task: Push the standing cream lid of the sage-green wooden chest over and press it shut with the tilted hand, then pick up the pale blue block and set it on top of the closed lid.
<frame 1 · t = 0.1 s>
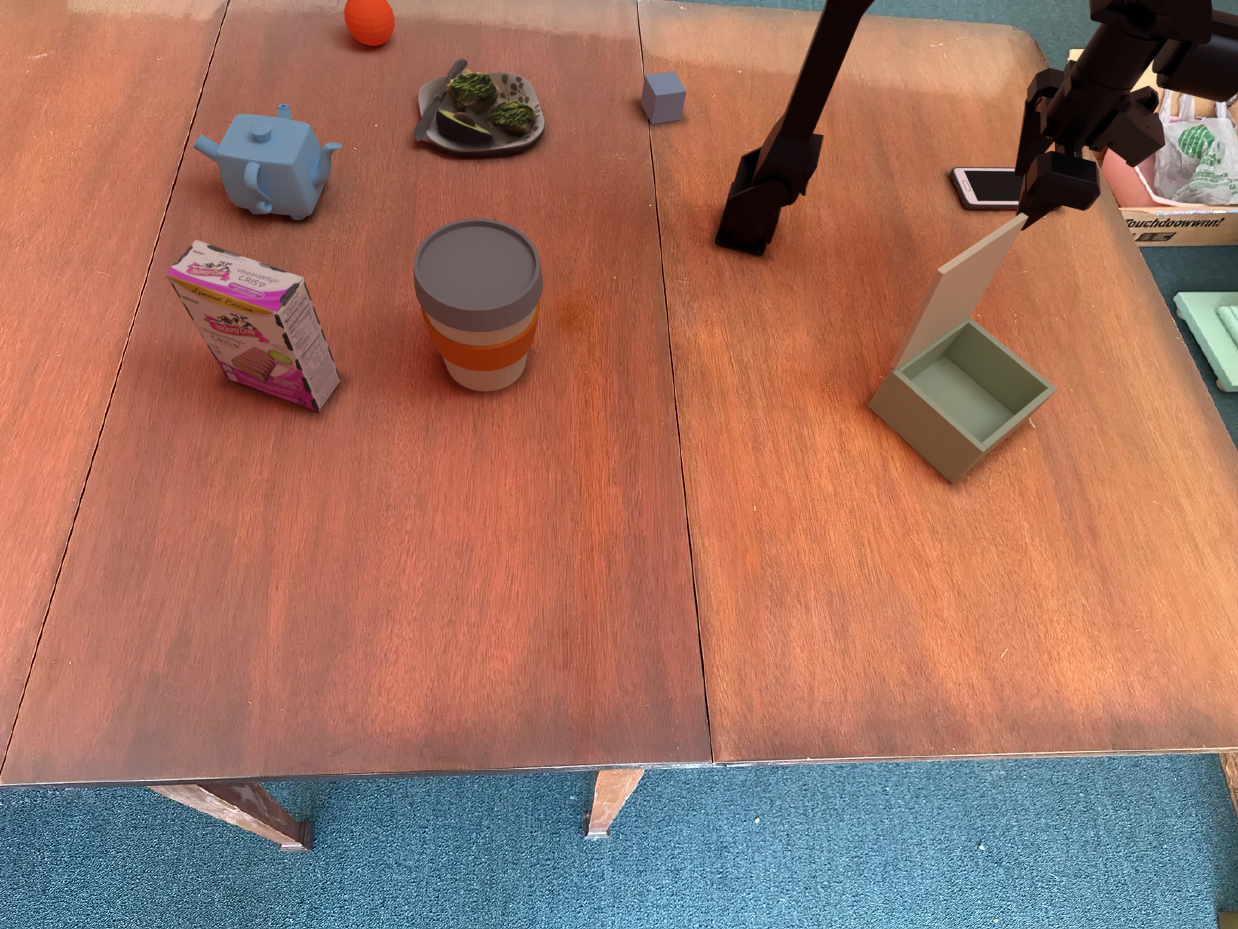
hand: (1018, 201, 87), 15 cm above the table, tool pointing down, fingers open, 9 cm apart
reusable coffee cup: (486, 360, 87), on the table
chest: (946, 414, 89), on the table
cell phone: (1003, 192, 110), on the table
lid: (956, 293, 80), point 14 cm above the table, hinge at 95.0°
candy bar box: (285, 382, 84), on the table
clementine: (370, 42, 114), on the table
avocado toast plate: (479, 123, 107), on the table
teapot: (288, 194, 97), on the table
block: (660, 112, 112), on the table
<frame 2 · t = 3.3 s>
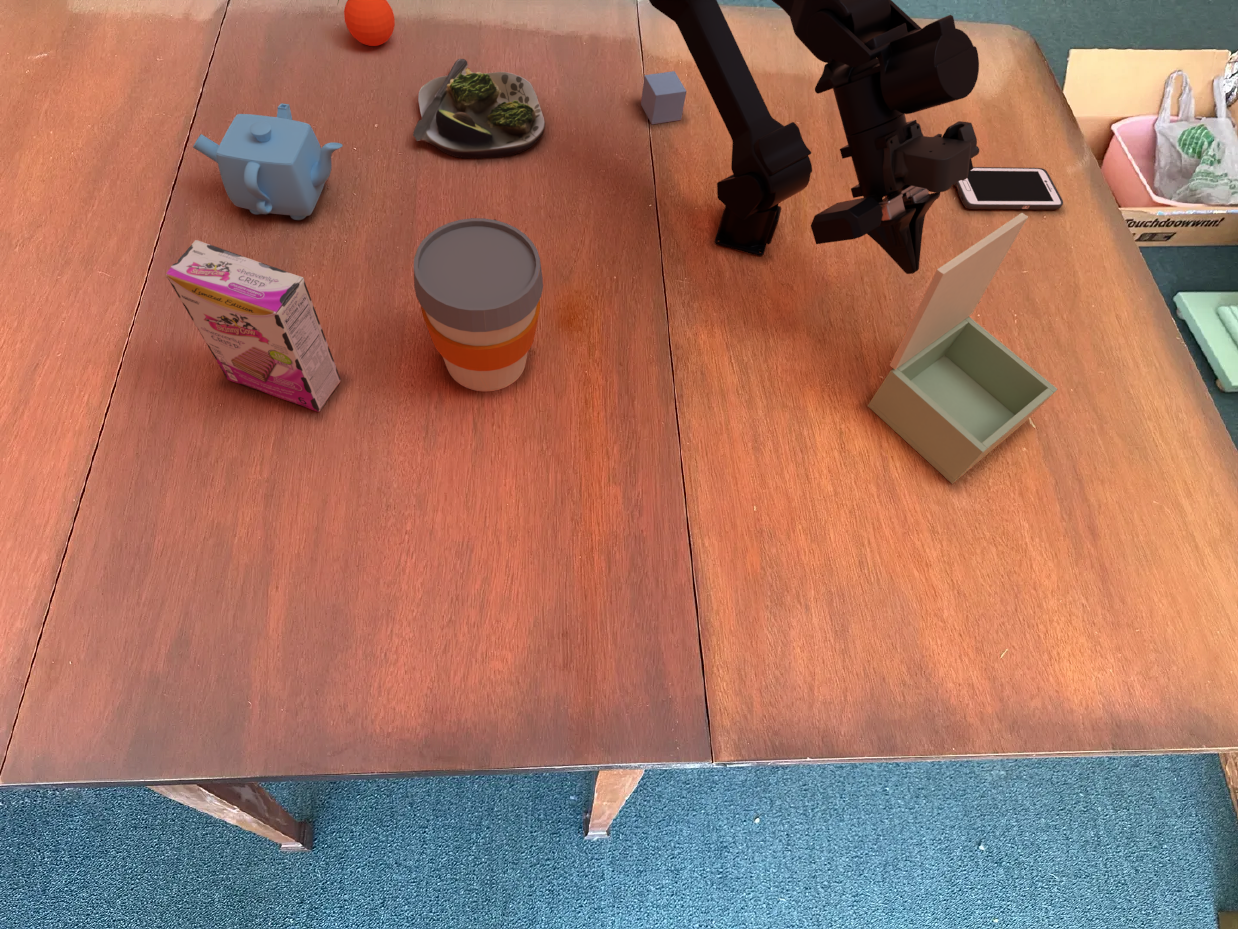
hand: (912, 272, 83), 13 cm above the table, tool tilted 45°, fingers closed
nothing on the table moved.
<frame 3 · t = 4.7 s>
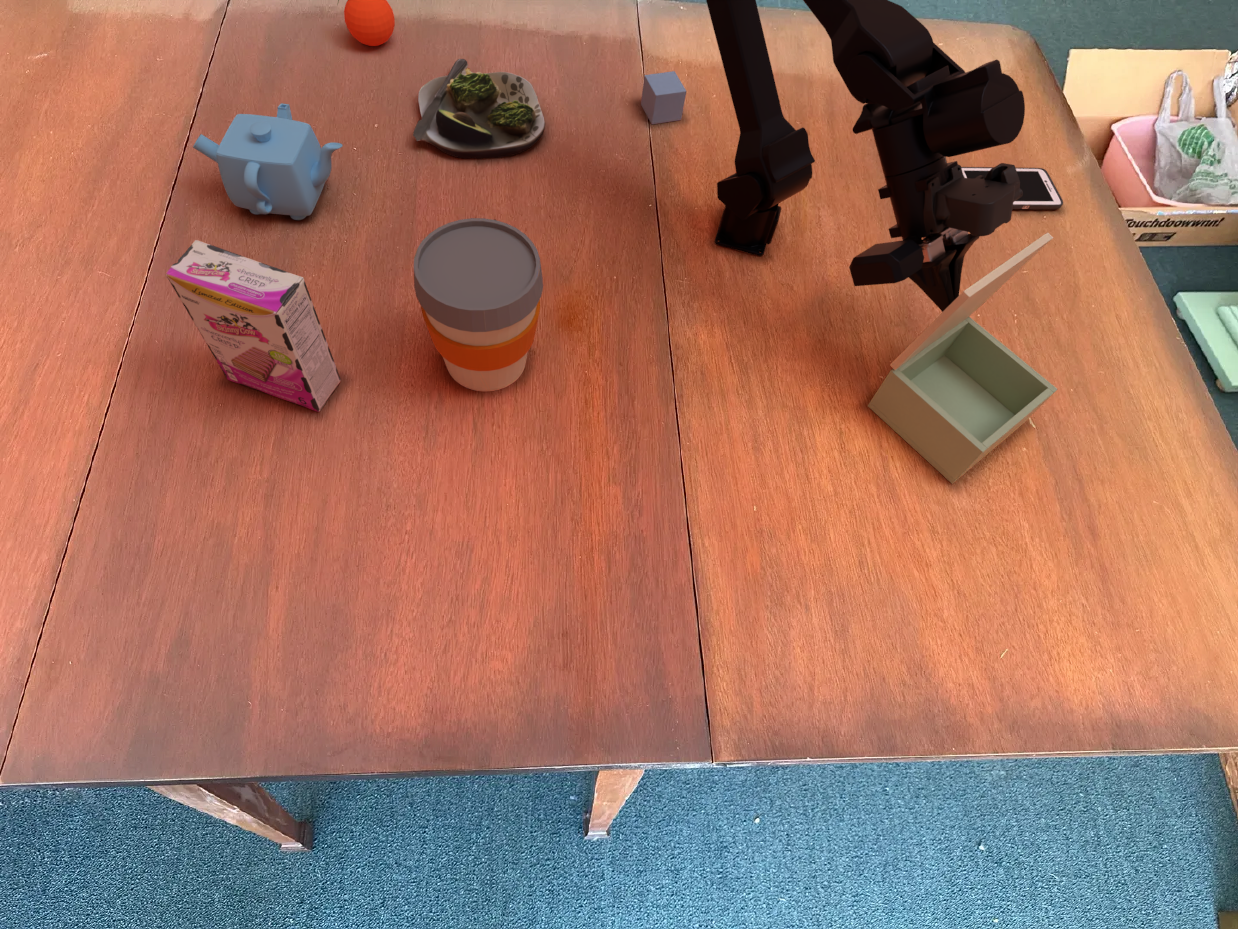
hand: (950, 312, 81), 12 cm above the table, tool tilted 45°, fingers closed, pressing on lid
lid: (968, 304, 79), point 14 cm above the table, hinge at 81.3°, touching gripper
everything else where it was.
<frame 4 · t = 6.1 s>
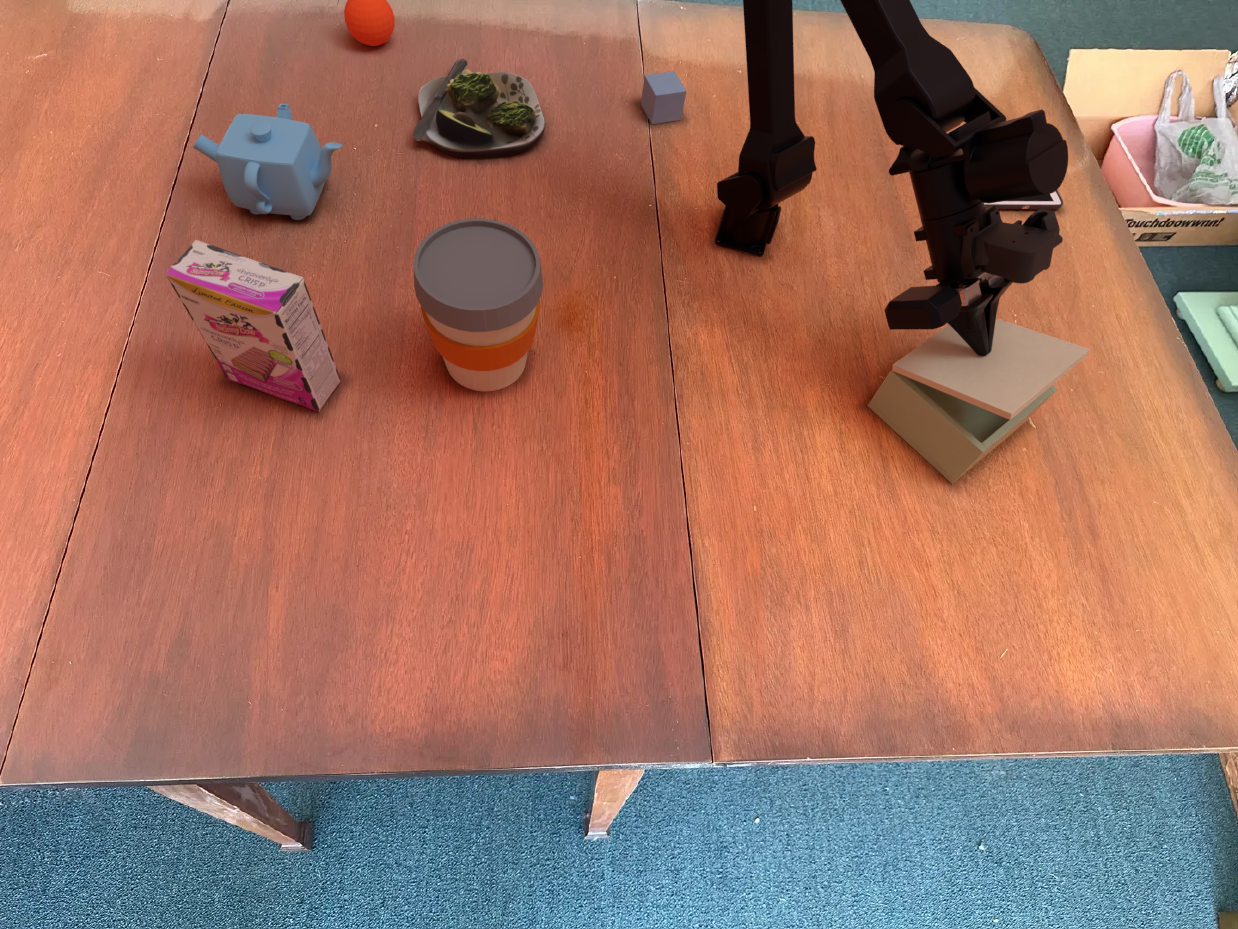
hand: (984, 354, 81), 10 cm above the table, tool tilted 45°, fingers closed
lid: (988, 360, 81), point 10 cm above the table, hinge at 24.4°
everything else where it was.
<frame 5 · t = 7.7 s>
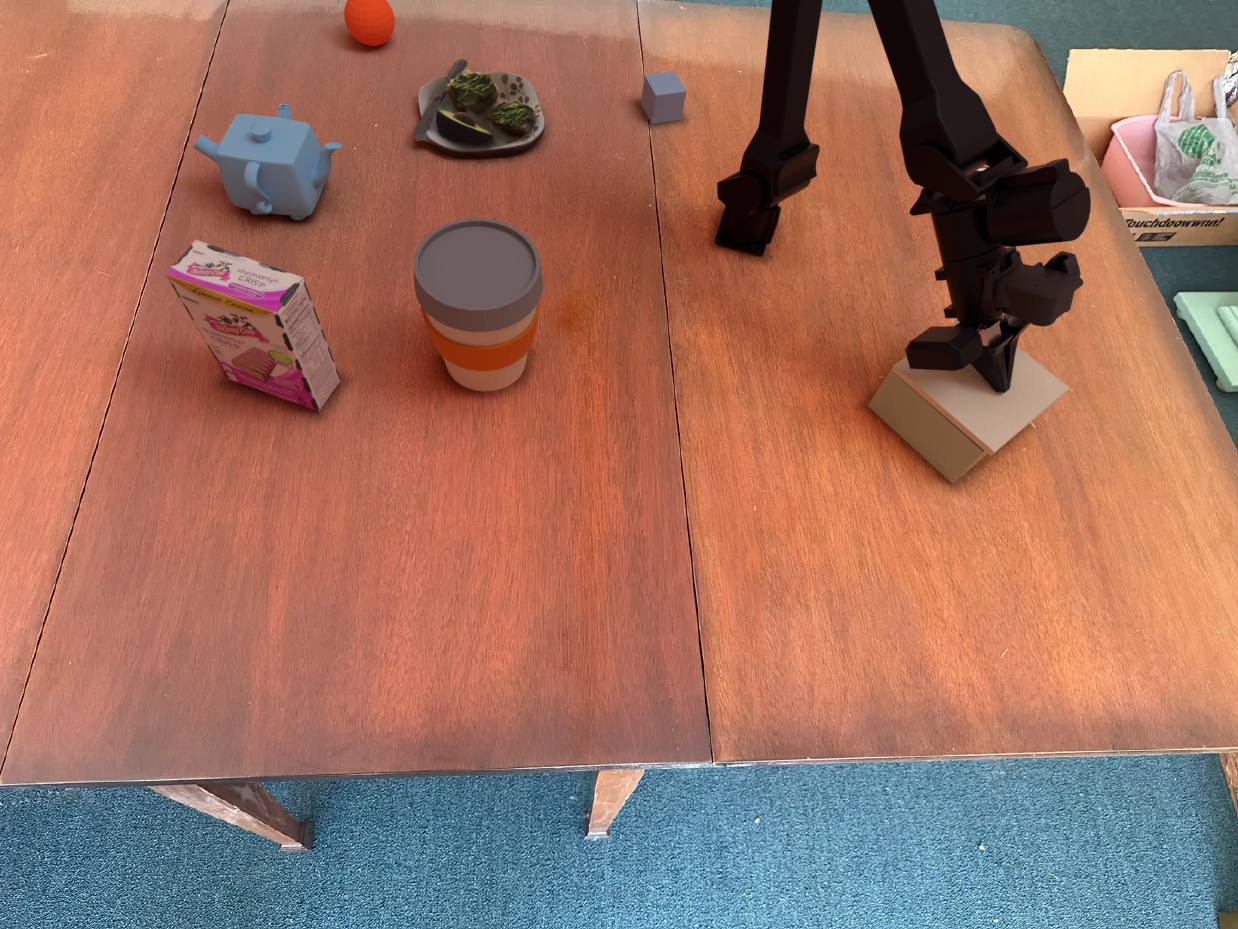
hand: (1003, 391, 81), 8 cm above the table, tool tilted 45°, fingers closed, pressing on lid
lid: (980, 378, 83), point 7 cm above the table, hinge at 1.1°, touching gripper
everything else where it was.
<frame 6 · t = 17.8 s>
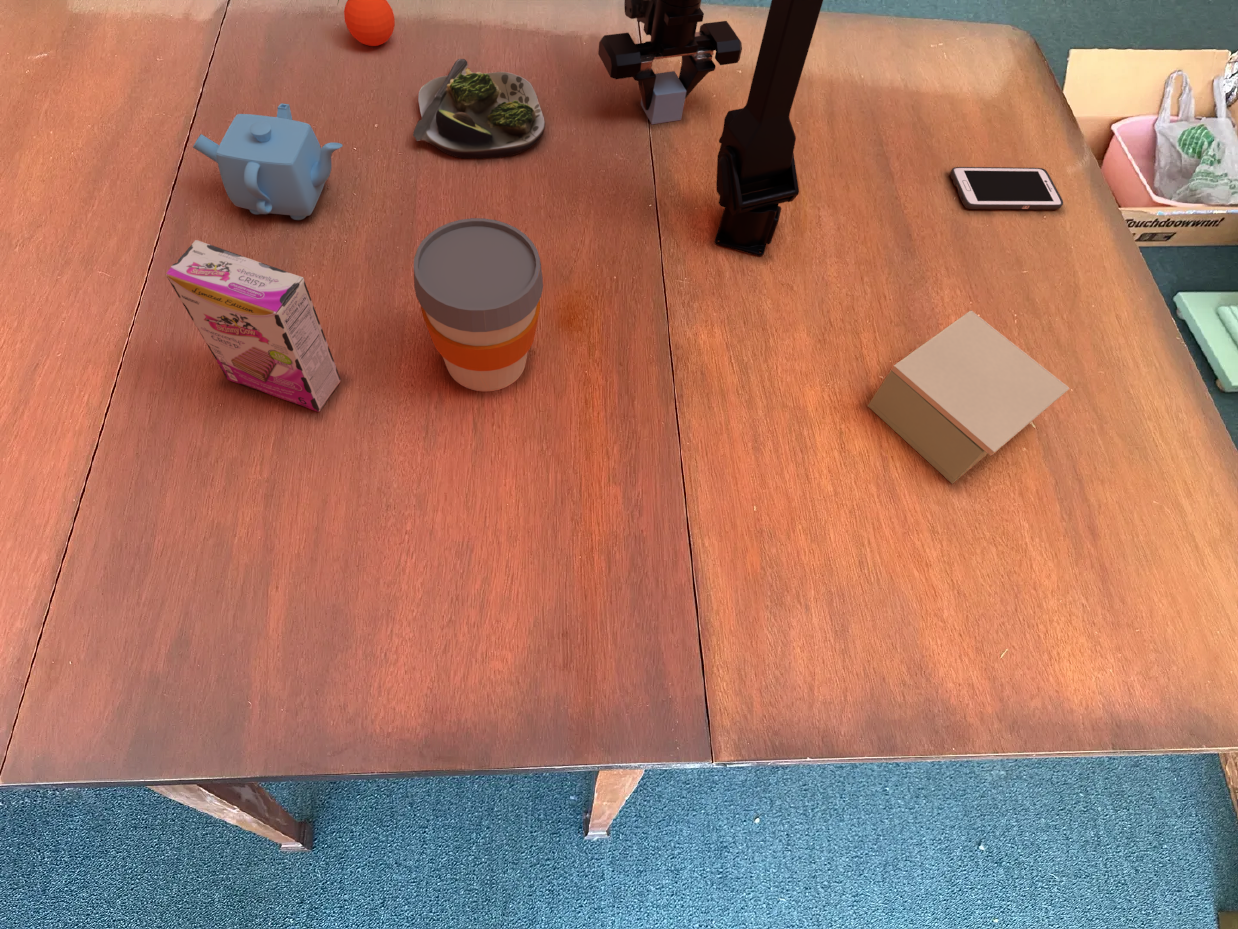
hand: (662, 105, 111), 1 cm above the table, tool pointing down, fingers closed on block, 4 cm apart
lid: (980, 378, 83), point 7 cm above the table, hinge at 1.0°
block: (660, 112, 112), on the table, touching gripper
everything else where it was.
when the fingers open (9 cm above the table, at t = 24.6 s): block stays where it is, resting on lid.
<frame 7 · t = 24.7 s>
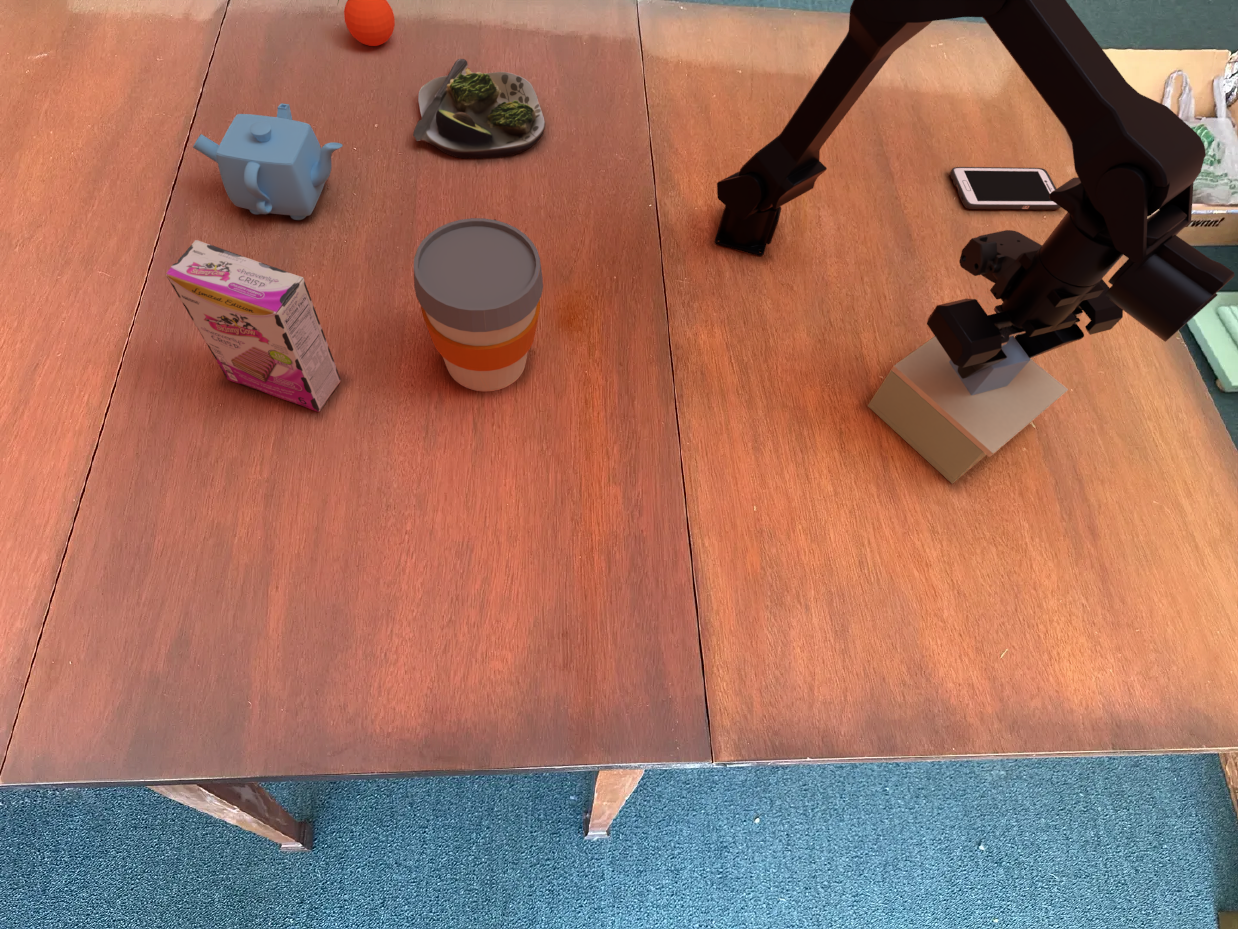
hand: (982, 369, 82), 9 cm above the table, tool pointing down, fingers open, 5 cm apart
lid: (979, 379, 83), point 7 cm above the table, hinge at 0.0°, touching block
block: (977, 373, 83), point 8 cm above the table, touching lid
everything else where it was.
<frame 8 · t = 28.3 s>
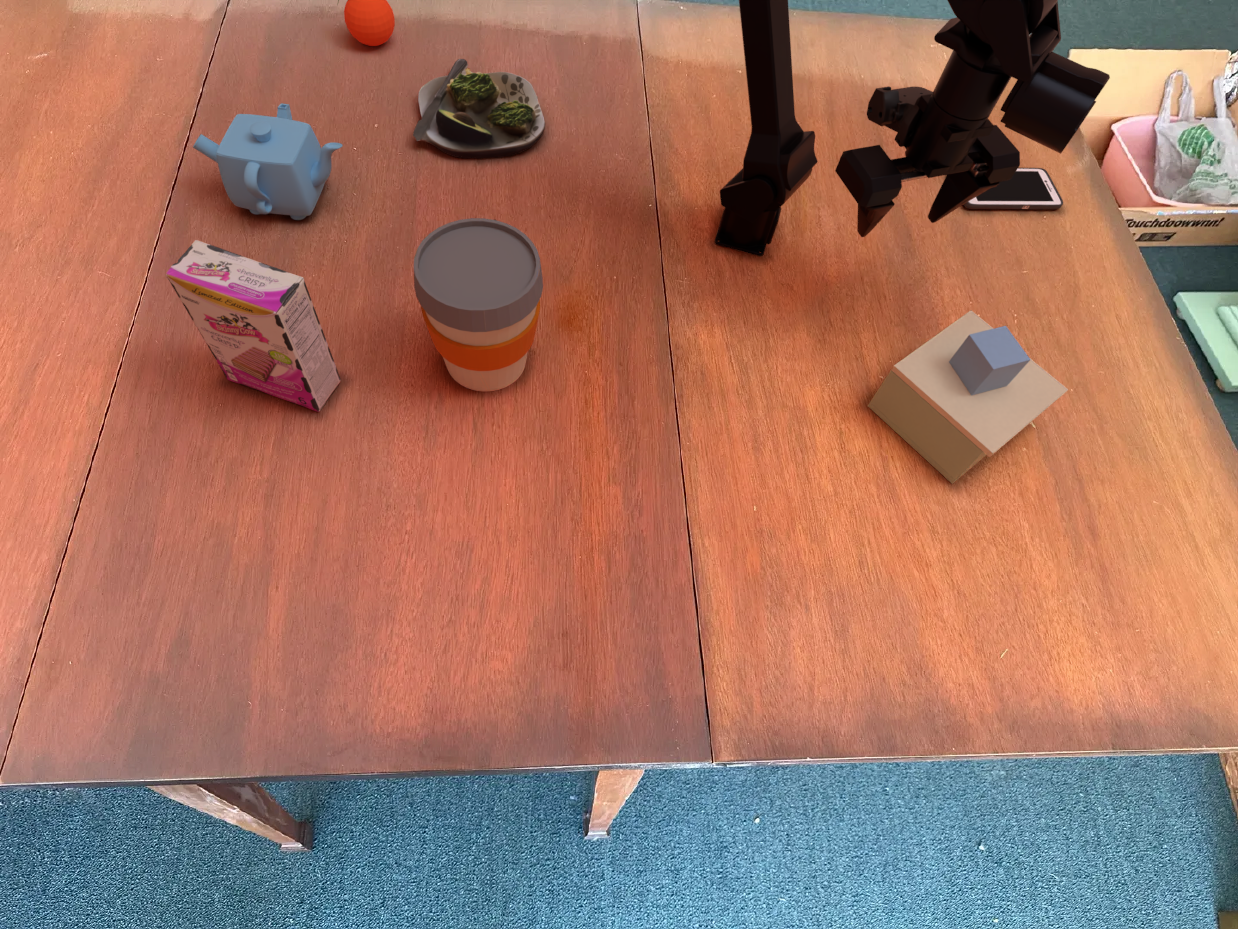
hand: (896, 227, 87), 12 cm above the table, tool pointing down, fingers open, 9 cm apart
nothing on the table moved.
at the end: lid at +0° (first picture: +95°); block inside the target area on the chest (0.1 cm from its centre), point 7.6 cm above the chest's base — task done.
